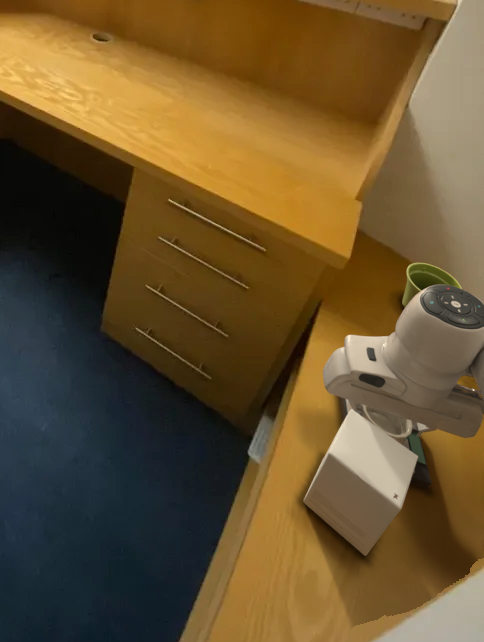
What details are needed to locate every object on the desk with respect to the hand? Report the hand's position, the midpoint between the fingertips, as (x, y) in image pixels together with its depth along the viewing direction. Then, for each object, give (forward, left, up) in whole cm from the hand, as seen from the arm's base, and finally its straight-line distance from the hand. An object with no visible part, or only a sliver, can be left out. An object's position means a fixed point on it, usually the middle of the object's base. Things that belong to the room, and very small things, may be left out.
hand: (382, 420), depth 83 cm
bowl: (0, 0, -3) cm, 3 cm away
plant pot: (-14, -31, -5) cm, 34 cm away
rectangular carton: (+6, +12, -5) cm, 14 cm away
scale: (-1, 0, -5) cm, 5 cm away
